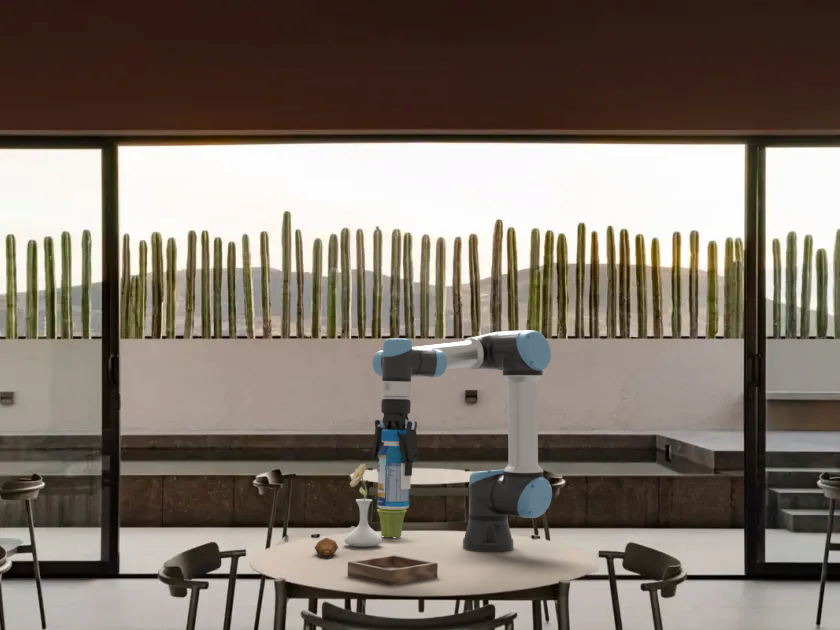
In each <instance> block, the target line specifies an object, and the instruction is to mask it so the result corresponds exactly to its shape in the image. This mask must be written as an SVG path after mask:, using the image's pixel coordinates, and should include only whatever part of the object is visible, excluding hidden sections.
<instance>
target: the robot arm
mask: <svg viewBox="0 0 840 630" xmlns="http://www.w3.org/2000/svg"><path fill="white" fill-rule="evenodd" d="M412 343H413V342H412V340H411V339H409V338H400V337H399V338H397V337H396V338H394V337H393V338H391V337H390V338H386V339H385V340H384V341H383V344H382V345H383V347H382V349H381V350H378V351H376V353H375V354H374V355H373V358H372V368H373V370H374V373H375V374H377V375H378V376H380V377H381V396H382V397H383V398H382V399H381V405H380V407H381V409H380V410H381V413H382V414H383V418H382V419H375V420H374V428H375V429H374V435H373V436H374V437H373V443H372V450H371V457H372V458H374V459H376V461H377V463H376V464H377V471H376V472H377V473H378V463H379V457H378V455H379V452H380V449H381V448H382V446H383V445H384V442H382V430H383V429H387V430H397V436H398V437H399V441H398V442H399V446H400V450H401V453H402V457H403V461H402V463H401V489H409V490H411V482H412V481H411V479H412V478H411V477H412V475H413V463H414V462H416V461H419V458H420V457H419V446H418V438H417V427H418V423H417V421H411V420H410V419H409V414H411V400H410V399H409V398H410V397H412V395H411V394H412V377H421V378H422V377H423V378H424V377H425V378H434V377H435V378H437V377H441V376H442V375H444V373H445V372H446V370H453V369H461V368H467V369H470V370H477V369H478V370H479V369H481V370H482V369H483V370H494V371H502V377H503V378H504V379H505V380H506V381H507V424H508V425H507V430H508V431H507V433H508V435H507V437H508V439H507V443H508V445H507V447H508V451H507V452H508V453H507V454H508V457H507V460H508V462H507V466H505V467H504V468H503V469H492V470H483V471H482V470H480V471H479V470H478V471H473V472H472V473H471V474H470V476H469V481H468V482H469V484H468V523H467V525H466V529H465V534H464V537H463V539H462V548H463V549H465V550H469V551H477V552H505V551H506V552H507V551H511V550H514V539H513V537H512V534H511V533H512V532H511V529H510V525H509V522H508V518H509V517H508V516H512V517H520V518H523V519H528V518H529V519H536V518H539V517H542V515H544V514H545V513H546V511H547V510H548V509H549V507H550V504H551V502H552V496H553V489H552V485H551V484H550V481H549V480H547V478H545V477H544V469H543V468H542V467H541V466H540V465H539V446H538V445H539V443H538V442H539V438H538V437H539V434H538V433H539V432H538V429H539V424H538V422H539V421H538V419H539V418H538V408H539V407H538V406H539V405H538V404H539V403H538V382H539V381H540V379H541V378H542V377H543V370H545V369H546V368H548V366H549V363H550V362H551V359H552V358H551V356H552V352H551V346H550V344H549V341H548V340H547V338H545V336H544V334H543V333H542V332H539V331H538V330H532V329H531V330H529V329H521V330H505V331H503V330H502V331H495V332H489V333H485V334H482V335H476V336H470V337H467V338H465V339H463V341H455V342H447V343H437V344H429V345H427V344H426V345H420V346H418V345H417V346H413V344H412ZM398 430H406V434H405V435H403V434H400V433H399V431H398ZM407 457H408V458H407Z"/></svg>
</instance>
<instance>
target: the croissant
mask: <svg viewBox="0 0 840 630" xmlns="http://www.w3.org/2000/svg"><path fill="white" fill-rule="evenodd" d="M314 549H315V551H316V553H317V555H319V556H320V557H322V558H325V559H328V558H332V557H333V556H334V555H335V553H336V552H337V550H338V549H339V546H338V544H337V542H336V541H335V540H333V539H331V538H328V537H324V538H323V539H321V540H318V542H317V543H316V545H315V546H314Z"/></svg>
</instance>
